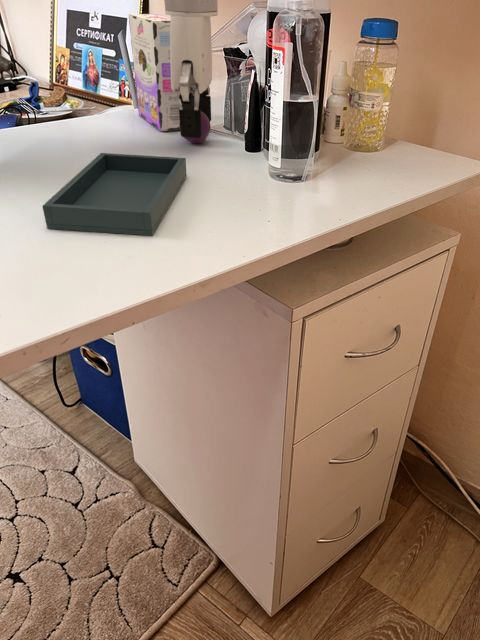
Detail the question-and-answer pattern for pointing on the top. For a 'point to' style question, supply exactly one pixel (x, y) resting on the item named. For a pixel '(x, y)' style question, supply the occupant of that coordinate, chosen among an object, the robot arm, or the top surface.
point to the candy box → (154, 70)
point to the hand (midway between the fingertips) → (196, 128)
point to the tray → (117, 195)
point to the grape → (205, 130)
